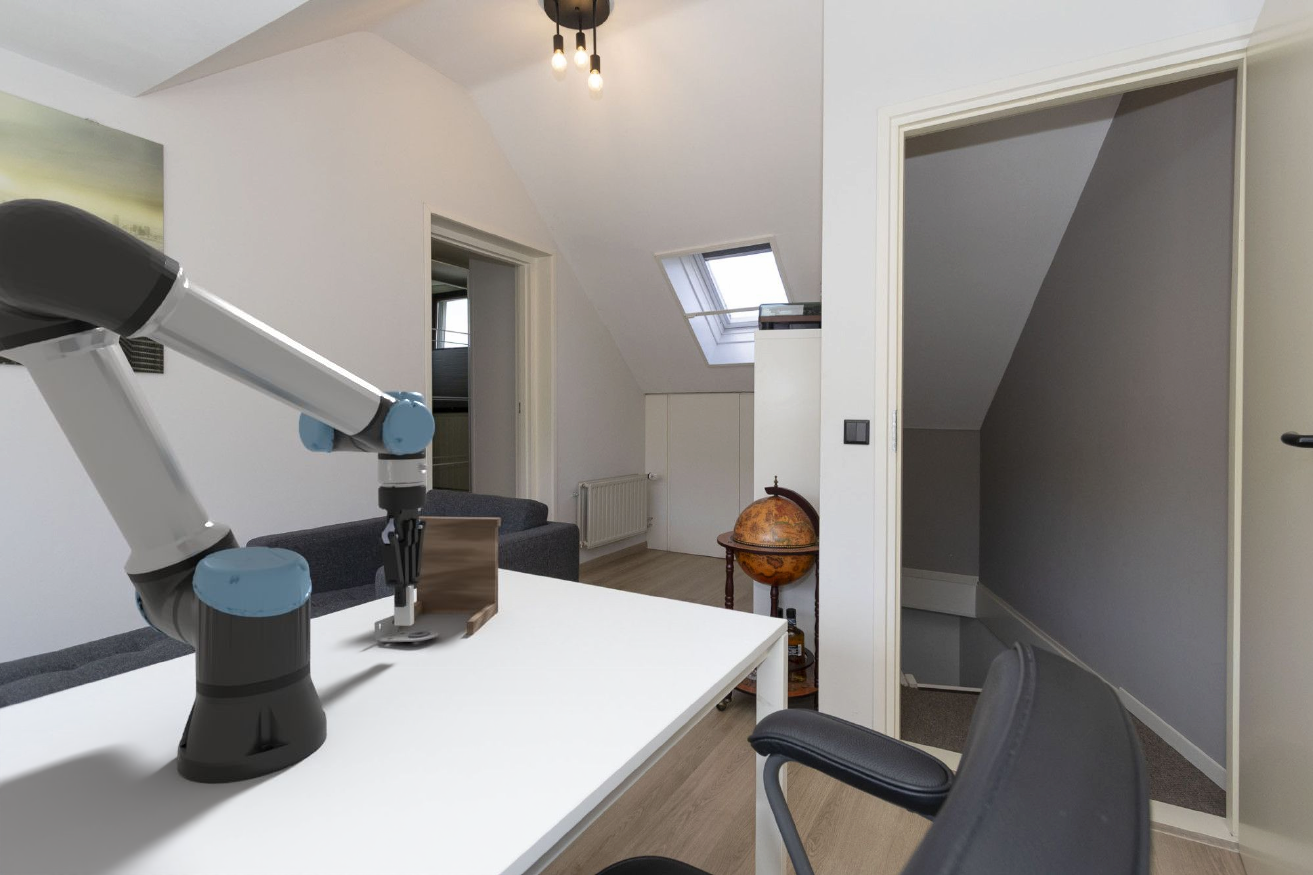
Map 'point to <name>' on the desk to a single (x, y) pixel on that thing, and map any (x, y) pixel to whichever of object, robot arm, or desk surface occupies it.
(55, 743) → the desk surface
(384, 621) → the bracket
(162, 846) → the desk surface
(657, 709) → the desk surface
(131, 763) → the desk surface
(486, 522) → the wooden l-shaped stand
